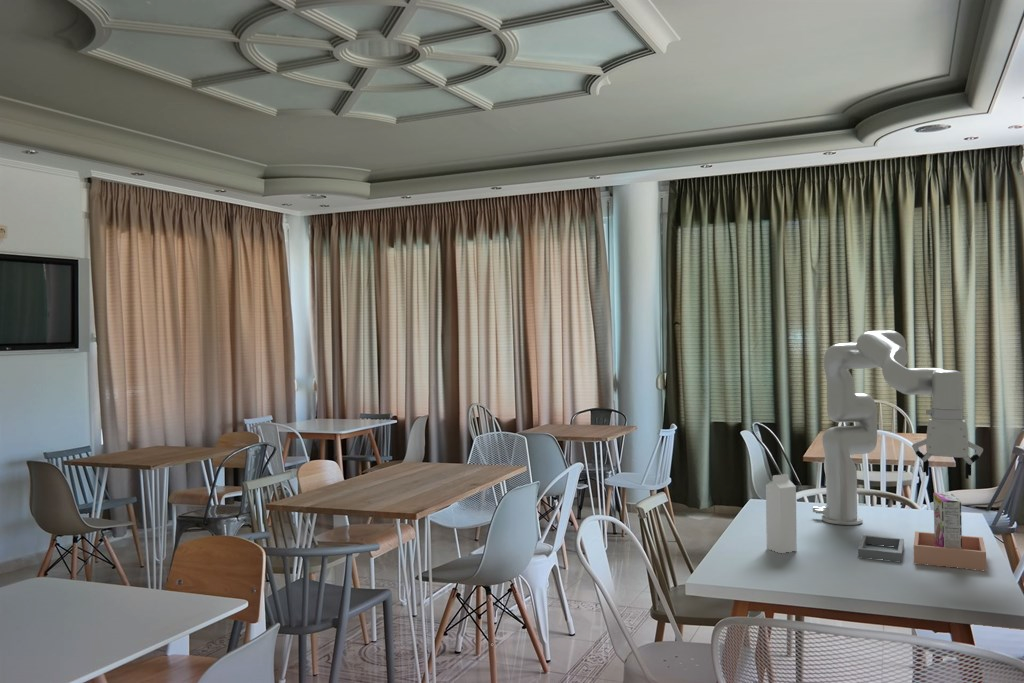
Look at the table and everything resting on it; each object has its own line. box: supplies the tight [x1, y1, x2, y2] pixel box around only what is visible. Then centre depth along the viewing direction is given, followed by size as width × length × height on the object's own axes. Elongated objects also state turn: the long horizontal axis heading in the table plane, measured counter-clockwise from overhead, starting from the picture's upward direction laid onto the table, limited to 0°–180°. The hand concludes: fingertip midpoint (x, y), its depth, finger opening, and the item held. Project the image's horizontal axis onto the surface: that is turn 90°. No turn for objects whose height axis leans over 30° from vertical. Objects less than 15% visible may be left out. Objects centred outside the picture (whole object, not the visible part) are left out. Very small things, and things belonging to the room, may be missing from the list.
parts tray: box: [857, 534, 905, 563], centre depth 231 cm, size 11×17×2 cm, turn 152°
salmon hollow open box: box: [913, 531, 987, 572], centre depth 223 cm, size 17×17×5 cm
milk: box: [765, 473, 798, 554], centre depth 235 cm, size 6×6×22 cm
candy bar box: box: [932, 492, 963, 549], centre depth 223 cm, size 11×5×16 cm, turn 164°
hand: (946, 476), depth 223 cm, fingers open, 9 cm apart
